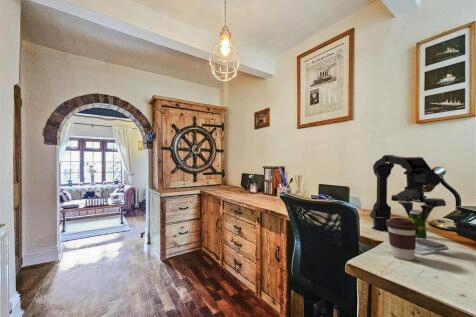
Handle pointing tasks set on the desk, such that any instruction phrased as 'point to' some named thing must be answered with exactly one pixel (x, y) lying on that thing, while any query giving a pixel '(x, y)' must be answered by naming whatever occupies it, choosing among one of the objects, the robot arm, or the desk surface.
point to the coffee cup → (402, 238)
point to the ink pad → (431, 244)
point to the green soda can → (418, 224)
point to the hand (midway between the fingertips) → (417, 219)
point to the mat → (424, 250)
